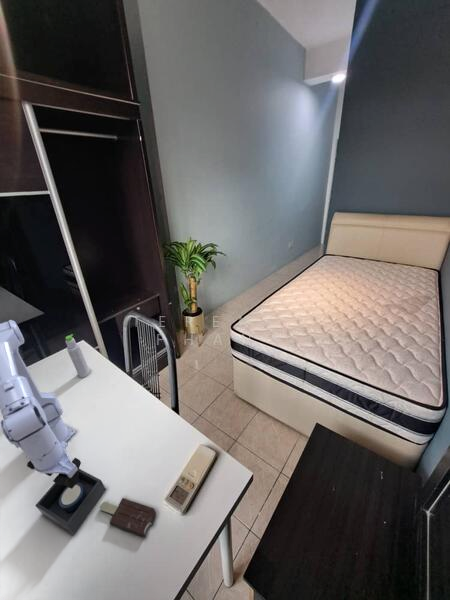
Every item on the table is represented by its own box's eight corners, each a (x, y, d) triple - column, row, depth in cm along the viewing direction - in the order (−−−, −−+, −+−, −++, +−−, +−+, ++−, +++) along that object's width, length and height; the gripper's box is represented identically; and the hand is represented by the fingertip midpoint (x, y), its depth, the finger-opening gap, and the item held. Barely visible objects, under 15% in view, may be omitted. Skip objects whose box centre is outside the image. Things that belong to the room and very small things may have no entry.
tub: (43, 514, 63) (35, 505, 61) (76, 473, 72) (70, 464, 69) (74, 535, 59) (66, 526, 57) (106, 489, 68) (100, 479, 65)
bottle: (91, 373, 107) (76, 336, 97) (81, 379, 104) (64, 341, 94) (87, 368, 110) (72, 332, 100) (77, 374, 107) (60, 337, 97)
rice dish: (58, 507, 64) (53, 502, 63) (76, 484, 69) (72, 478, 67) (73, 517, 62) (69, 511, 61) (91, 493, 67) (87, 487, 65)
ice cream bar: (94, 519, 62) (147, 538, 58) (92, 516, 61) (146, 535, 58) (108, 495, 66) (158, 511, 63) (106, 492, 66) (157, 508, 62)
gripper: (80, 441, 57) (97, 472, 63) (38, 421, 61) (58, 452, 68) (51, 472, 51) (73, 503, 57) (7, 448, 56) (32, 479, 62)
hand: (63, 477), depth 62 cm, fingers open, 7 cm apart
